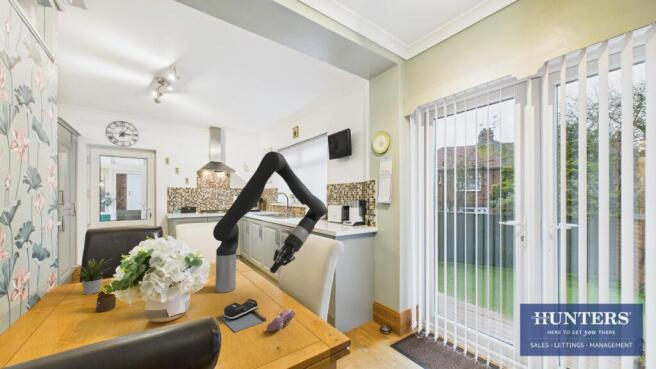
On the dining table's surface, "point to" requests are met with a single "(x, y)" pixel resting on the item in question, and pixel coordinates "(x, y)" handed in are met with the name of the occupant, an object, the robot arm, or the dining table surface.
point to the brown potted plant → (105, 301)
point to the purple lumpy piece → (281, 320)
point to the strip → (259, 315)
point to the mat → (242, 322)
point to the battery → (239, 309)
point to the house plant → (92, 277)
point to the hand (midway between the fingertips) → (271, 272)
